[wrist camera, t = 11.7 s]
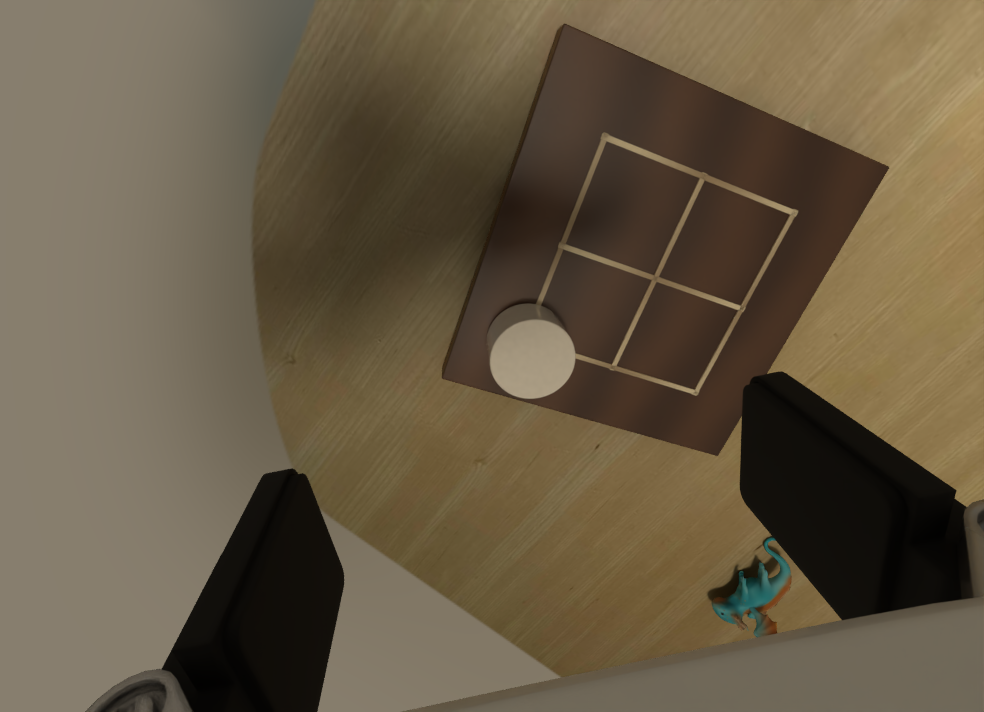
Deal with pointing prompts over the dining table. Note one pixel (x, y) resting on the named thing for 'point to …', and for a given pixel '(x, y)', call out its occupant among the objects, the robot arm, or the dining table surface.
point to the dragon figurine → (756, 597)
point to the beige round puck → (529, 351)
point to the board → (658, 241)
